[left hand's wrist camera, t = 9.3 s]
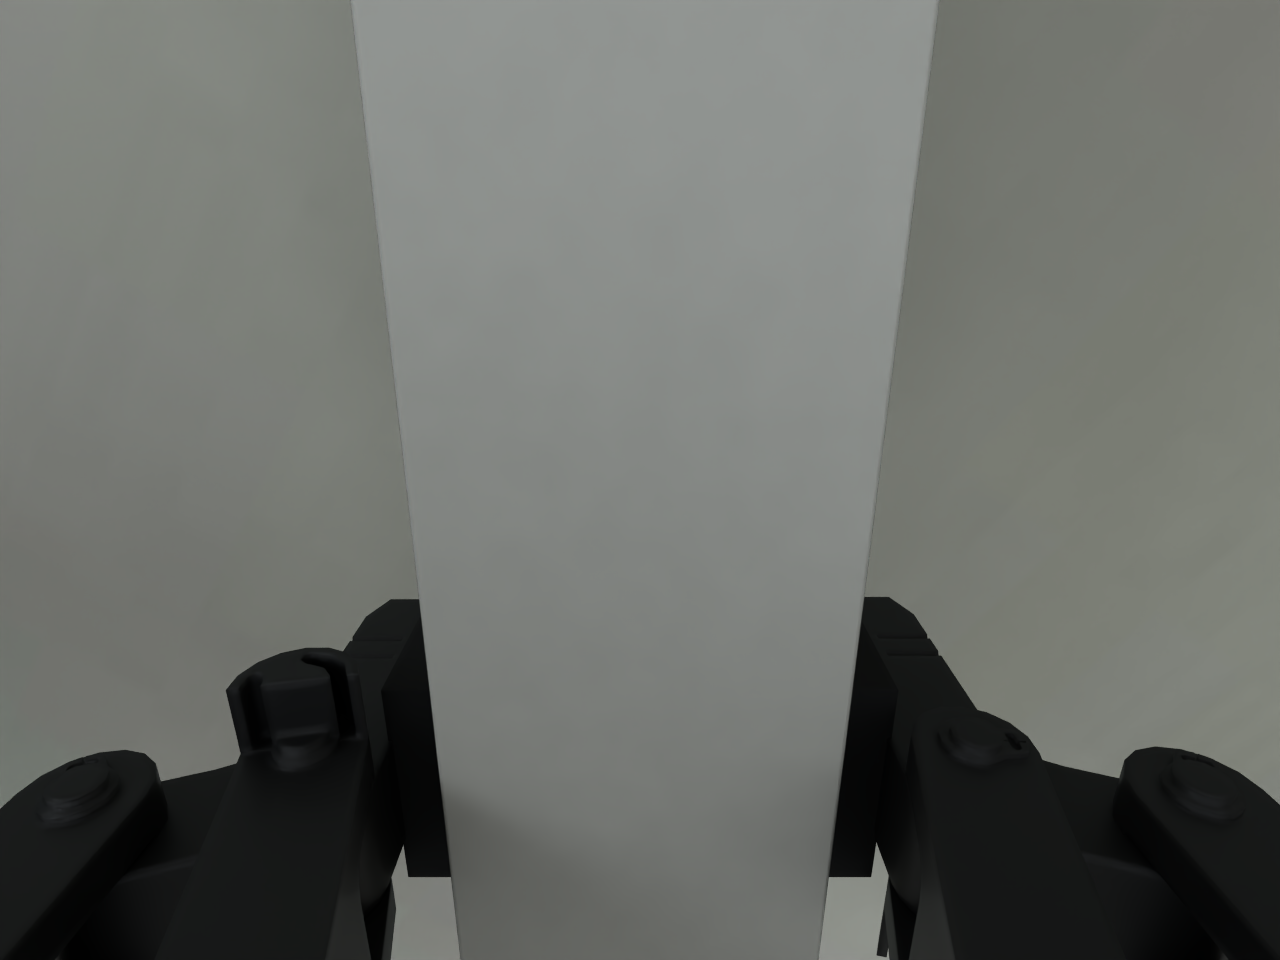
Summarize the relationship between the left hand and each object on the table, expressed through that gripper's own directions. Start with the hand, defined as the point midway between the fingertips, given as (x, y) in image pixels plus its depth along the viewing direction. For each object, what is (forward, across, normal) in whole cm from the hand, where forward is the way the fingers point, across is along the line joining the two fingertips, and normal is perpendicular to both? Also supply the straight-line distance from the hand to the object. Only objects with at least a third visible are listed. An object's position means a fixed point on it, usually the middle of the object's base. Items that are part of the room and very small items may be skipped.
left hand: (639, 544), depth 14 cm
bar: (+1, 0, -22) cm, 22 cm away
